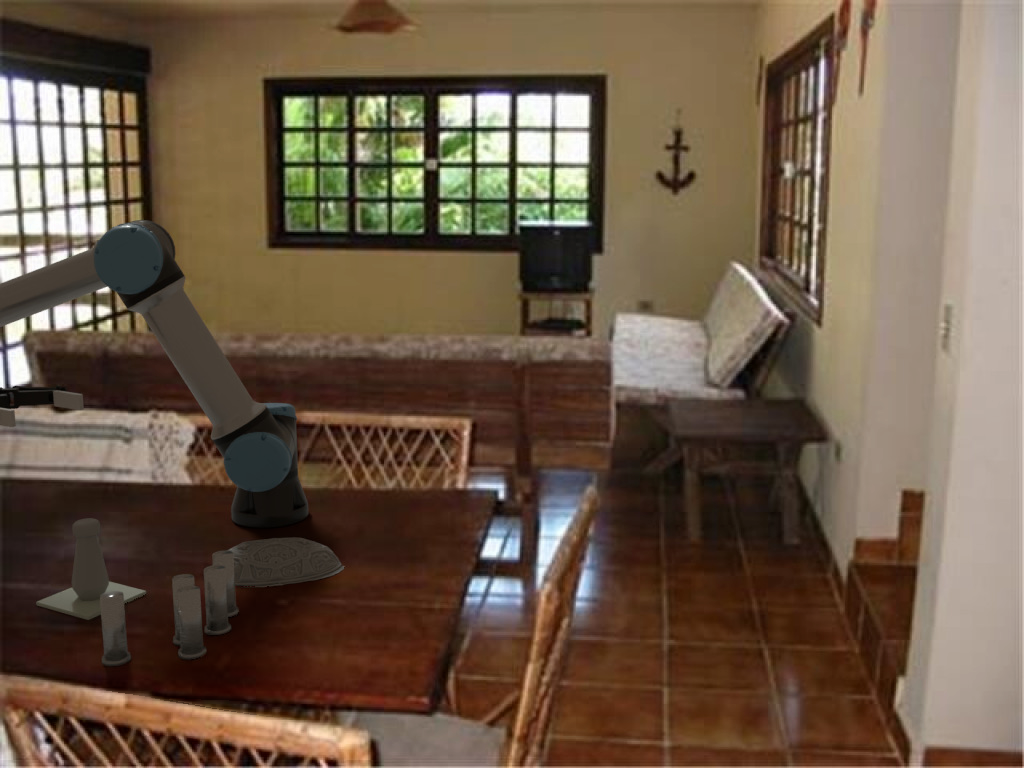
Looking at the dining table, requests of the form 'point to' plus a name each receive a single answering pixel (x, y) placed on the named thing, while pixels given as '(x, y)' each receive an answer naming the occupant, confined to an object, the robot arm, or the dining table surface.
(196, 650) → the spacers
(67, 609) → the coaster
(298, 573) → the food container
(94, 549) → the salt shaker
